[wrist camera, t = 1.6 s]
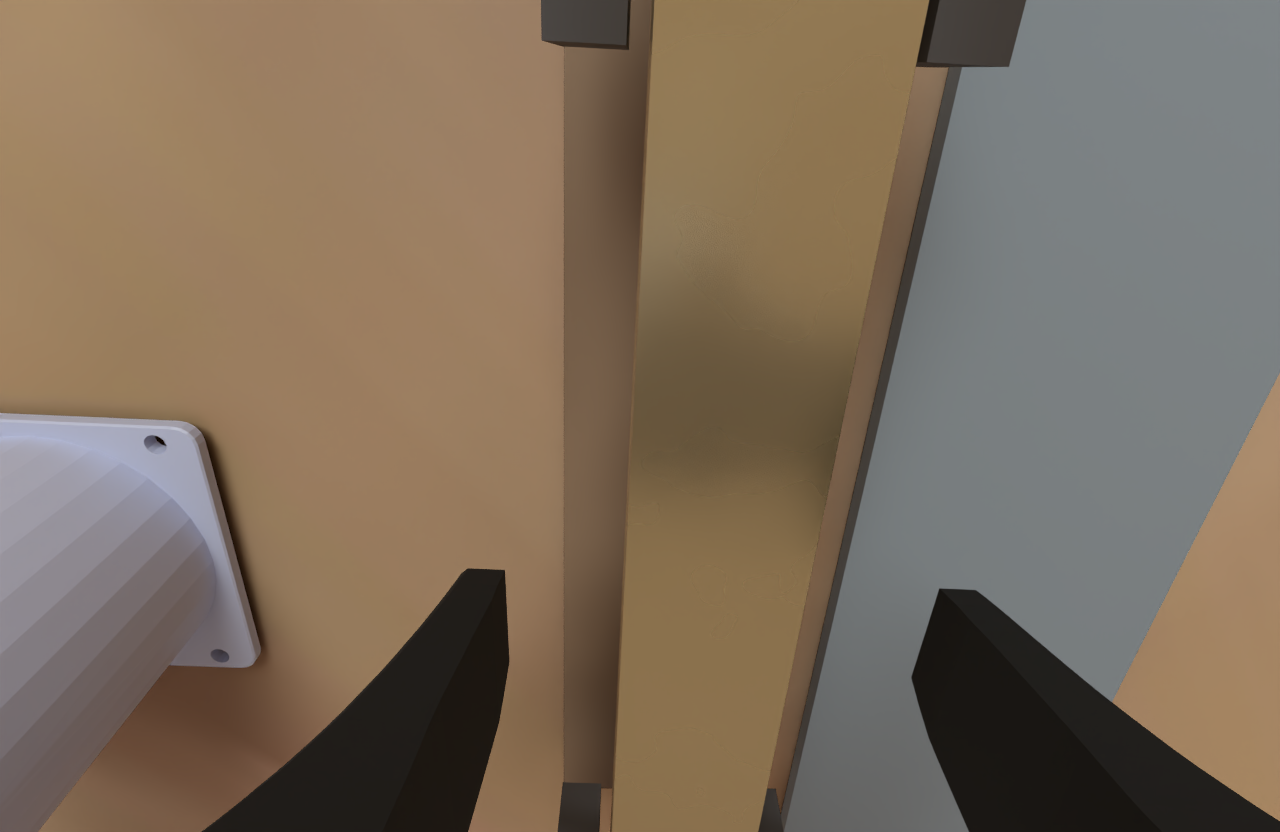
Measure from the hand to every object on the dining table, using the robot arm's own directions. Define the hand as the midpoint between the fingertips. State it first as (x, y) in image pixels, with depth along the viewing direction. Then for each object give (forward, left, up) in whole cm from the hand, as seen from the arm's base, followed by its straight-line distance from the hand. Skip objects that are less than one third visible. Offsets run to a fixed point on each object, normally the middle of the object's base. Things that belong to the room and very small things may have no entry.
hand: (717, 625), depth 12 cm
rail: (0, 0, -3) cm, 3 cm away
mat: (+9, 0, -7) cm, 11 cm away
